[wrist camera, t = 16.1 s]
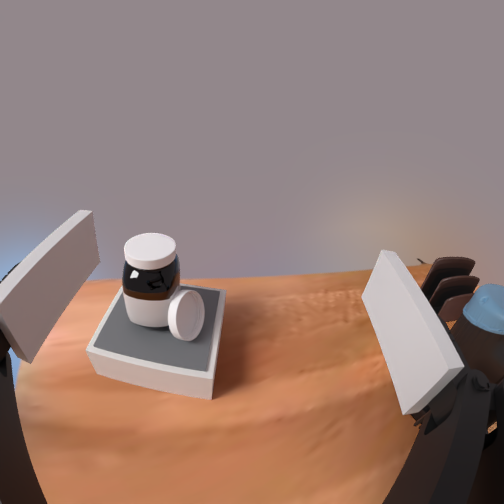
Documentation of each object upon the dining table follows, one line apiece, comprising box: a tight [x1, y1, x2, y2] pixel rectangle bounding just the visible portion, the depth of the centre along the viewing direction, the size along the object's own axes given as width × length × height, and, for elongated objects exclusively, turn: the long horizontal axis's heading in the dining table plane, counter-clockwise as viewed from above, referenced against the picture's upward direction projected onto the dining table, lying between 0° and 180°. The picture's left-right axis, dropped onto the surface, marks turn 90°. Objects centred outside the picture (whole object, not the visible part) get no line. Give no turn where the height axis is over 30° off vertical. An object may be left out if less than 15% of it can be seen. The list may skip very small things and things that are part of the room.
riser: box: [86, 283, 226, 400], centre depth 40 cm, size 18×18×6 cm
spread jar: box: [122, 233, 205, 341], centre depth 36 cm, size 12×11×12 cm
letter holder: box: [420, 257, 480, 322], centre depth 56 cm, size 10×20×14 cm, turn 97°
